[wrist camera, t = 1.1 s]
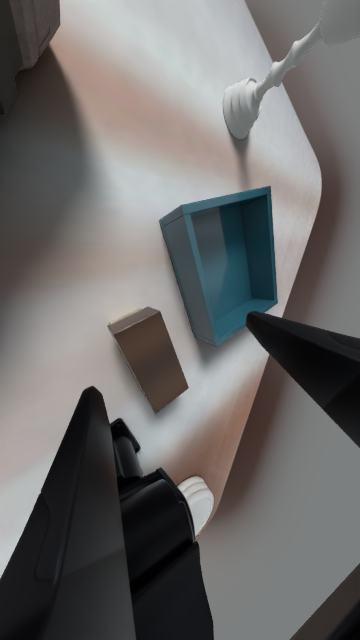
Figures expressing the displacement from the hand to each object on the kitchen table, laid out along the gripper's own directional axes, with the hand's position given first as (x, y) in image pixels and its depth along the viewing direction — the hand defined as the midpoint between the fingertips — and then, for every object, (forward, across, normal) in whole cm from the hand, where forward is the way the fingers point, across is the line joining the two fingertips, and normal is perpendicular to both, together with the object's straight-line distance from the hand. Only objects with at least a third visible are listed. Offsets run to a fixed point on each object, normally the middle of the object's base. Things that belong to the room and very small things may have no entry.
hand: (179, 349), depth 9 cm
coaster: (-2, +7, +38) cm, 39 cm away
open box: (+14, -12, +4) cm, 19 cm away
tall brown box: (+9, +2, +8) cm, 13 cm away
